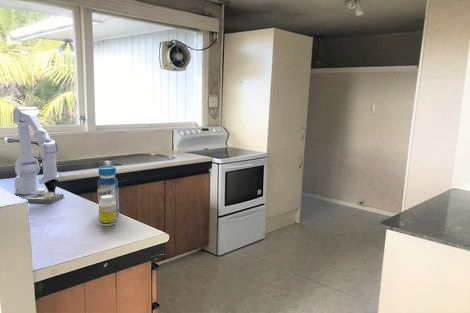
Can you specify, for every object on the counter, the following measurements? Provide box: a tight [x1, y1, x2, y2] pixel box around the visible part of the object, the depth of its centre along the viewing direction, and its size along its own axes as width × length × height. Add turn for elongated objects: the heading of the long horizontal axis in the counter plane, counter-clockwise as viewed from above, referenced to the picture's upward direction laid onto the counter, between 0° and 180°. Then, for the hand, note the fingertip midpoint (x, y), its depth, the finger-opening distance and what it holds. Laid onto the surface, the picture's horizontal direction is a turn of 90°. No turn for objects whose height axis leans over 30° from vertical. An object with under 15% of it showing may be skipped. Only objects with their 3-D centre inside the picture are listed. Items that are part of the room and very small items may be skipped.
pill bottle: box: [98, 195, 118, 227], centre depth 138 cm, size 6×6×11 cm
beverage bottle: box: [96, 165, 120, 215], centre depth 150 cm, size 8×8×20 cm
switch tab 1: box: [35, 188, 46, 195], centre depth 172 cm, size 3×2×2 cm
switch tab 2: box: [45, 191, 54, 198], centre depth 167 cm, size 3×2×2 cm
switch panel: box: [26, 193, 65, 204], centre depth 170 cm, size 12×10×2 cm
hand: (51, 195), depth 169 cm, fingers closed
